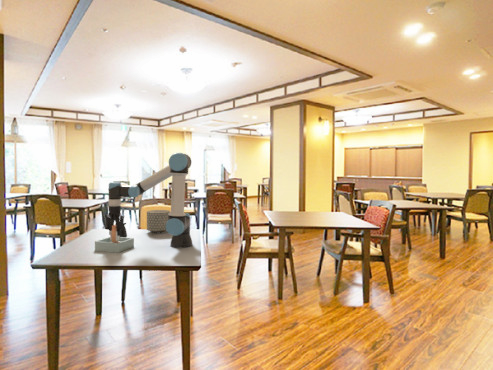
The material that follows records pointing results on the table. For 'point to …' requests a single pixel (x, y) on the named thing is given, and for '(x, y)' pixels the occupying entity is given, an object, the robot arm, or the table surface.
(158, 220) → the planter
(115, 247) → the box
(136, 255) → the table surface
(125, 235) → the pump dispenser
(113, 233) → the peg
